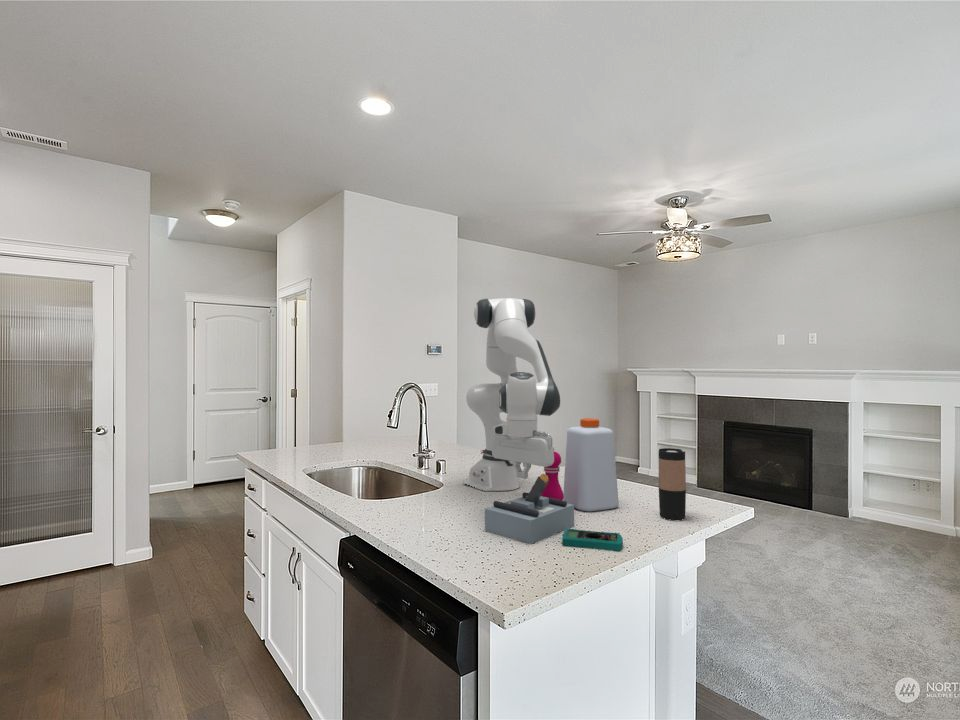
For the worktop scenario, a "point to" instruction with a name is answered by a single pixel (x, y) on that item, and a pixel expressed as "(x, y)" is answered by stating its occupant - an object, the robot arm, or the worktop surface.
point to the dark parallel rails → (526, 510)
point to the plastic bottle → (590, 467)
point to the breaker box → (529, 520)
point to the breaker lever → (537, 489)
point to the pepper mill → (553, 479)
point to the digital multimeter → (592, 539)
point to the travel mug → (672, 483)
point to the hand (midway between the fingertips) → (522, 477)
